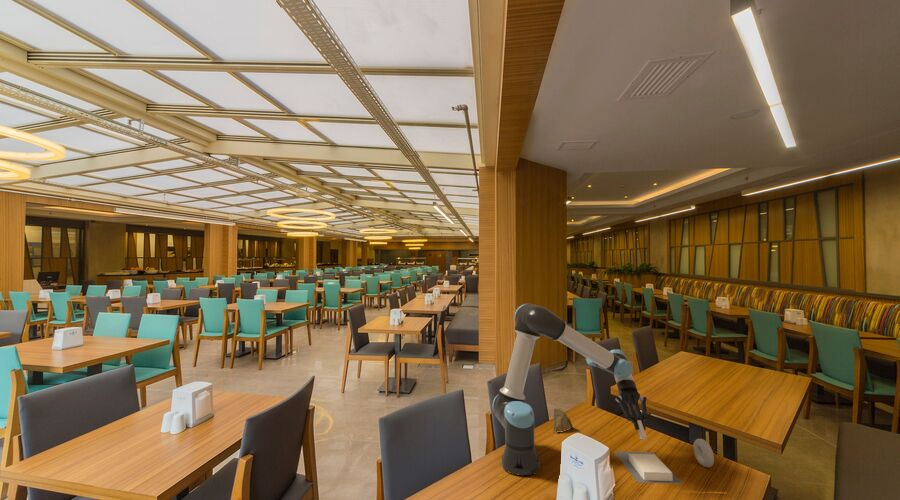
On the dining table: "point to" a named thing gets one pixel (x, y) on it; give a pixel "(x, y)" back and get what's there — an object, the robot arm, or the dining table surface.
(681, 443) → the dining table surface
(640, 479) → the mat
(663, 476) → the tile
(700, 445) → the donut
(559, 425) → the rock
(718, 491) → the dining table surface
